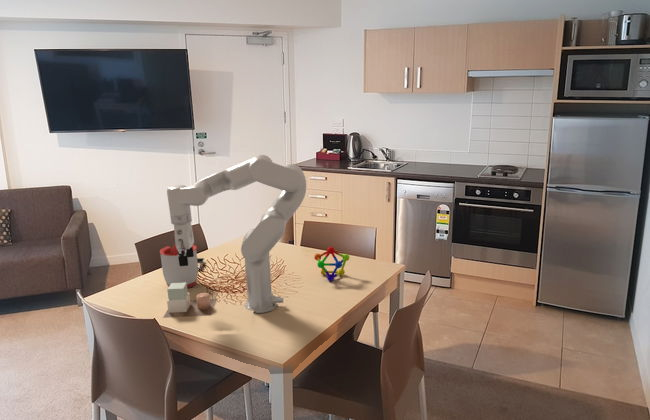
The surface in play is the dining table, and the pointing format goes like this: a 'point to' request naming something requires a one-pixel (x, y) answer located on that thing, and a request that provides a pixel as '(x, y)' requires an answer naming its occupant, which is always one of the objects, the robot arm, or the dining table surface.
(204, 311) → the serving board
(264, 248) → the robot arm
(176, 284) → the sage block
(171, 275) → the citrus juicer
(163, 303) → the dining table surface
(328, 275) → the educational toy
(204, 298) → the pink domed cylinder
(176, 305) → the cream block
